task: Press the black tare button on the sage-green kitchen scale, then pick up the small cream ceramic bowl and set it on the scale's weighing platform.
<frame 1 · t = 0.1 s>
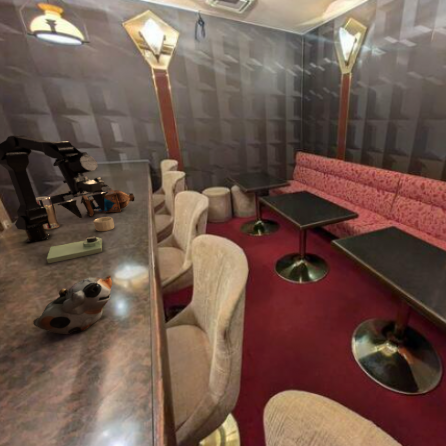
hand: (92, 214, 98), 15 cm above the bar counter, tool pointing down, fingers open, 9 cm apart
scale: (77, 251, 100), on the bar counter
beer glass: (51, 227, 122), on the bar counter
bowl: (105, 228, 122), on the bar counter
tare button: (91, 239, 102), point 4 cm above the bar counter, slide at 0.1 cm
lucky cat figurine: (83, 317, 67), on the bar counter
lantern: (112, 211, 146), on the bar counter
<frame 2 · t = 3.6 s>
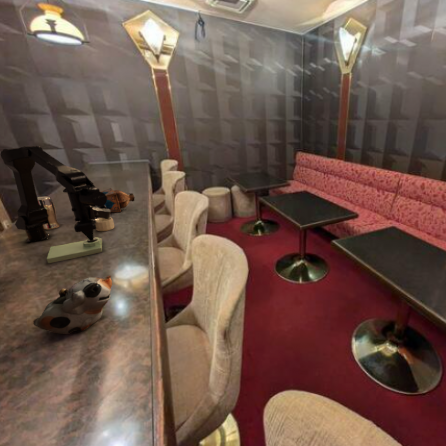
hand: (91, 239, 102), 4 cm above the bar counter, tool pointing down, fingers closed, pressing on tare button
tare button: (92, 241, 103), point 3 cm above the bar counter, slide at -0.8 cm, touching gripper
everything else where it was.
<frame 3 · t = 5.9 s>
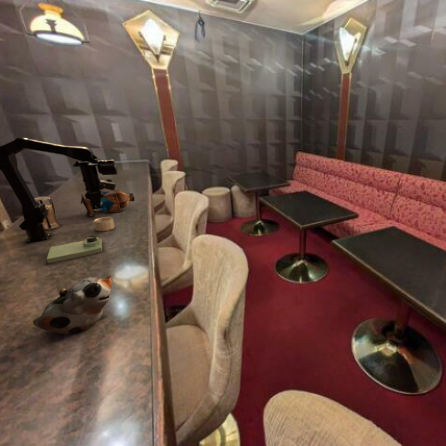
hand: (99, 208, 117), 11 cm above the bar counter, tool pointing down, fingers closed
tare button: (91, 239, 102), point 4 cm above the bar counter, slide at 0.1 cm
everything else where it was.
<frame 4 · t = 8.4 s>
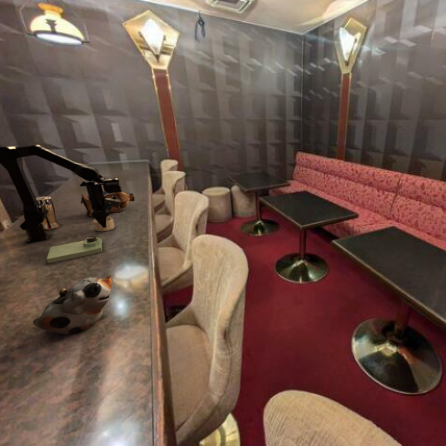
hand: (104, 225, 122), 2 cm above the bar counter, tool pointing down, fingers closed on bowl, 7 cm apart
bowl: (105, 228, 122), on the bar counter, touching gripper
everything else where it was.
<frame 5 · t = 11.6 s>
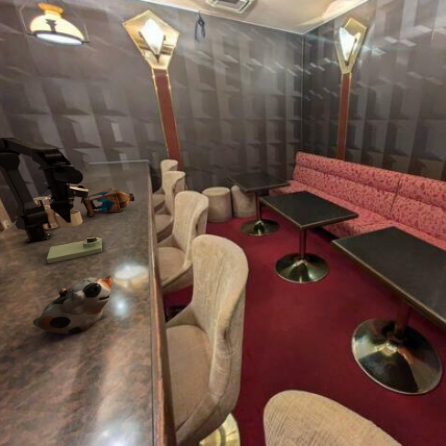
hand: (69, 219, 100), 12 cm above the bar counter, tool pointing down, fingers closed on bowl, 7 cm apart
bowl: (71, 224, 101), point 10 cm above the bar counter, touching gripper
everything else where it was.
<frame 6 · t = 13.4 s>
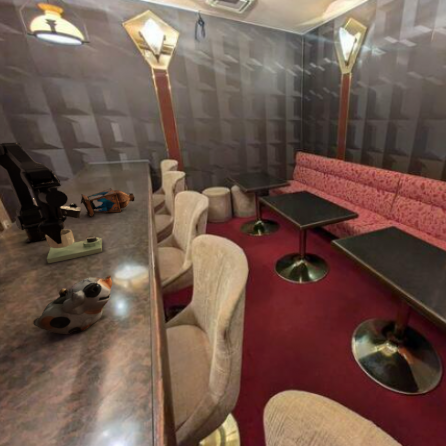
hand: (60, 239, 96), 6 cm above the bar counter, tool pointing down, fingers closed on bowl, 7 cm apart
bowl: (62, 244, 97), point 4 cm above the bar counter, touching gripper
everything else where it was.
when the fingers open (4 cm above the bar counter, at t = 14.8 s): bowl stays where it is, resting on scale.
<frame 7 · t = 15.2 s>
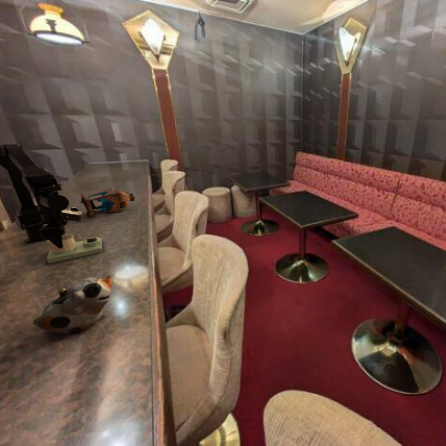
hand: (62, 243, 97), 5 cm above the bar counter, tool pointing down, fingers open, 9 cm apart
bowl: (64, 249, 98), point 2 cm above the bar counter, touching scale
everything else where it was.
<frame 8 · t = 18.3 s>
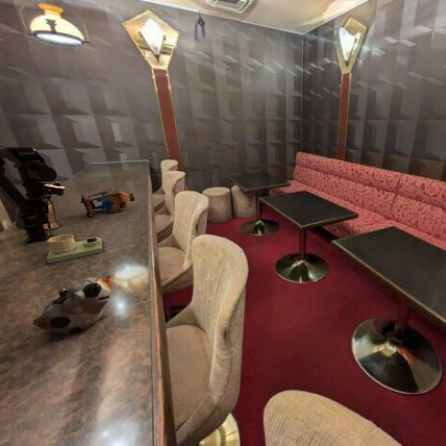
hand: (45, 216, 103), 12 cm above the bar counter, tool pointing down, fingers open, 9 cm apart
nothing on the bar counter moved.
at the end: tare button pushed in 0.9 cm at the most during the clip, back to where it started at the end; bowl 0.4 cm from the target spot on the scale, point 1.9 cm above the scale's base; bowl touching scale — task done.
